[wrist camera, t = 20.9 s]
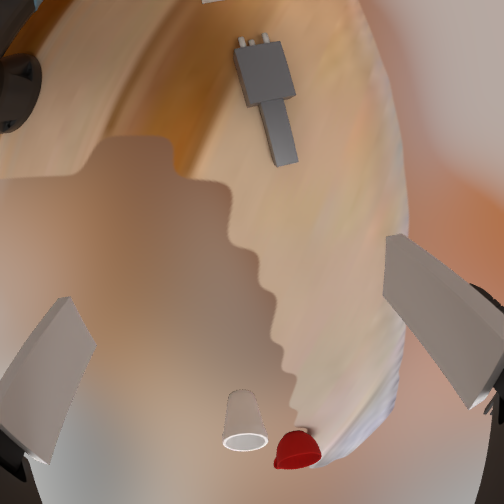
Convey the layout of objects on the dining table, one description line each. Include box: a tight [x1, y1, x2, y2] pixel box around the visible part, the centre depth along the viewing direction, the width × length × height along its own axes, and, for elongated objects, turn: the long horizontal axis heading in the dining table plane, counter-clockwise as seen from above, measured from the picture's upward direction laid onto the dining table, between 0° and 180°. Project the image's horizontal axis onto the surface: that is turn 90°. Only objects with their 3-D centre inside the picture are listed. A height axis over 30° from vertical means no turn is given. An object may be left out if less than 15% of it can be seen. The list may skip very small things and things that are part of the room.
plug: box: [233, 33, 299, 167], centre depth 33 cm, size 19×6×5 cm, turn 14°
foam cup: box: [222, 390, 268, 451], centre depth 53 cm, size 10×9×13 cm
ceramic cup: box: [274, 430, 322, 469], centre depth 66 cm, size 13×17×10 cm
